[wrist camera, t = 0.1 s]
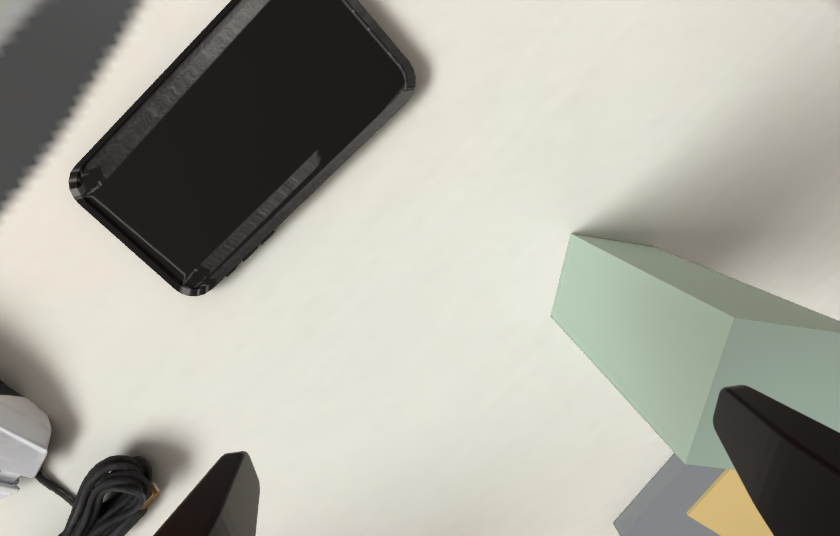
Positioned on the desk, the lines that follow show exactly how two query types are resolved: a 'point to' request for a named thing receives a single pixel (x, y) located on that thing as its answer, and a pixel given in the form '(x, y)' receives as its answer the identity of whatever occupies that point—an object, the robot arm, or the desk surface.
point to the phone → (241, 133)
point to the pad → (692, 505)
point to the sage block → (692, 341)
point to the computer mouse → (90, 517)
